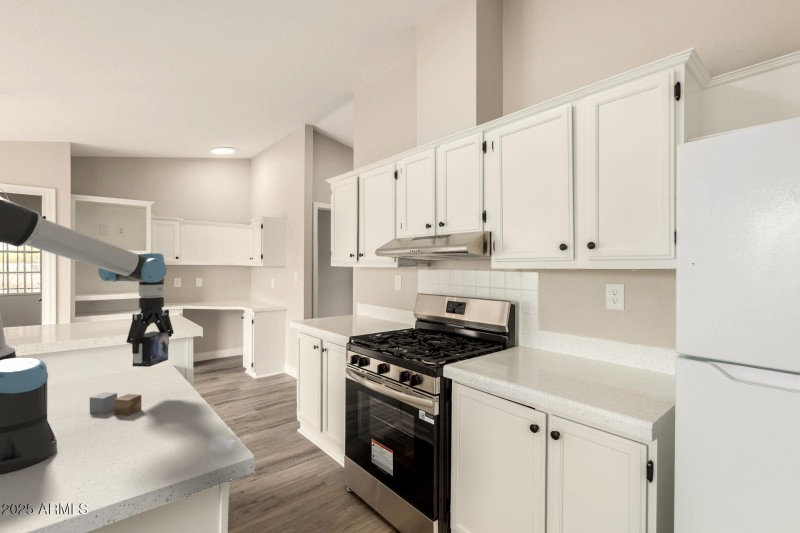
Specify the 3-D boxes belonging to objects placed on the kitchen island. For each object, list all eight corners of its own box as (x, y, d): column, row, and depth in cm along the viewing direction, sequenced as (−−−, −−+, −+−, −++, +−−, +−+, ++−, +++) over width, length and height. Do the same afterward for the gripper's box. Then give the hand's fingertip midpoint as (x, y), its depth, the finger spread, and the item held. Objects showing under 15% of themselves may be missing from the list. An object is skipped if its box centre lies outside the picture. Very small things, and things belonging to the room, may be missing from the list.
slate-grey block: (103, 414, 122) (103, 398, 122) (89, 413, 123) (89, 397, 123) (117, 408, 127) (117, 393, 127) (104, 407, 128) (104, 392, 128)
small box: (150, 367, 132) (150, 336, 132) (131, 367, 132) (131, 336, 132) (169, 359, 143) (169, 331, 143) (152, 359, 143) (152, 331, 143)
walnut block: (128, 416, 121) (128, 400, 121) (114, 415, 121) (114, 399, 121) (141, 410, 126) (141, 394, 125) (128, 409, 126) (128, 393, 126)
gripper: (133, 299, 125) (132, 367, 125) (184, 294, 148) (184, 351, 149) (112, 299, 127) (112, 366, 127) (167, 294, 150) (166, 350, 150)
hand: (151, 358), depth 138 cm, fingers closed on small box, 11 cm apart
